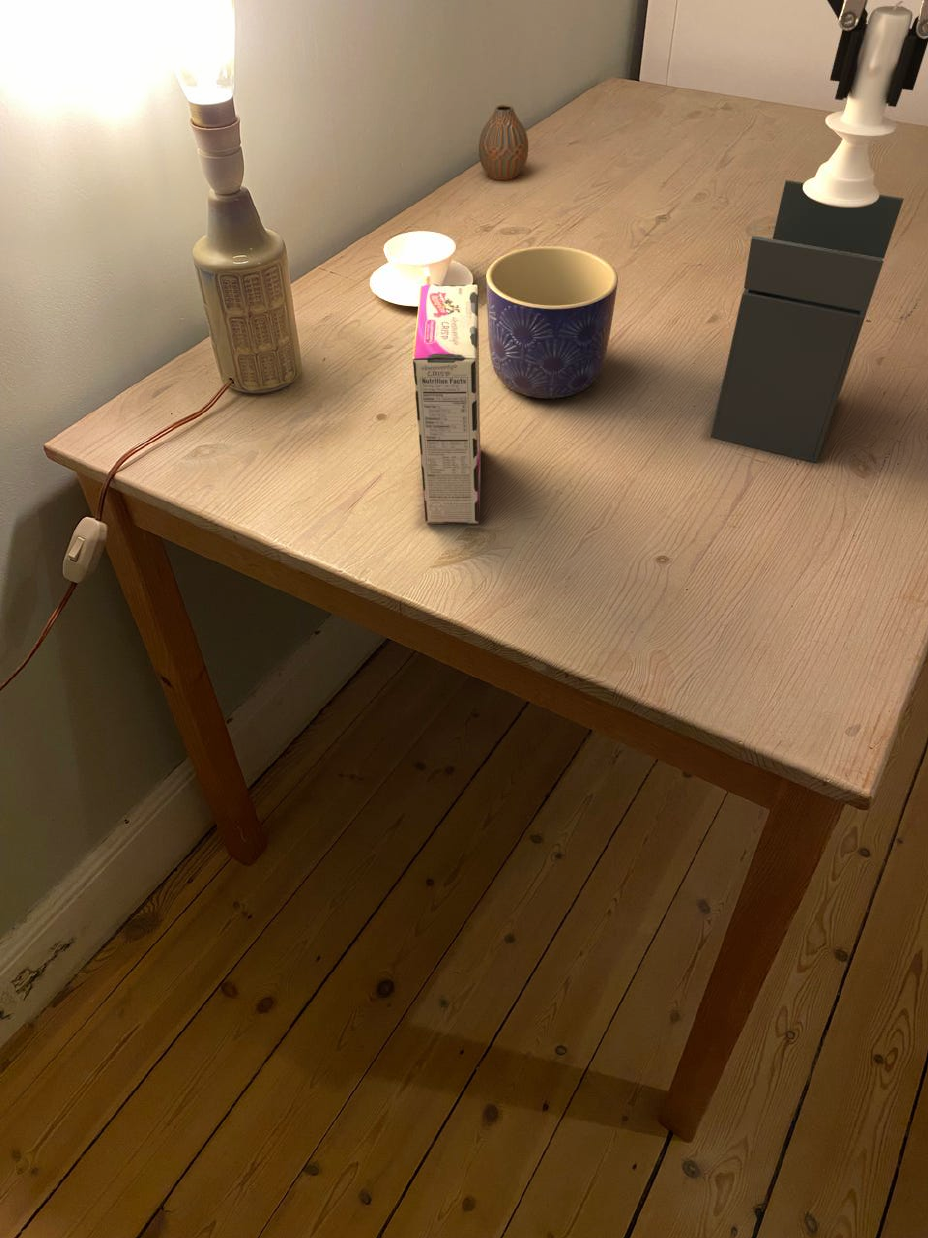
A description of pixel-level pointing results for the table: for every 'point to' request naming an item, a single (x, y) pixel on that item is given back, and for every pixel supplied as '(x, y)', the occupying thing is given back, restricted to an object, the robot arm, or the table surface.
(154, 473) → the table surface
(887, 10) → the candle
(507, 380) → the planter
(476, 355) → the candy bar box
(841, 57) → the robot arm
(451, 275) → the teacup
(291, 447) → the table surface
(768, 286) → the panel
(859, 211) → the chute
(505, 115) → the vase
